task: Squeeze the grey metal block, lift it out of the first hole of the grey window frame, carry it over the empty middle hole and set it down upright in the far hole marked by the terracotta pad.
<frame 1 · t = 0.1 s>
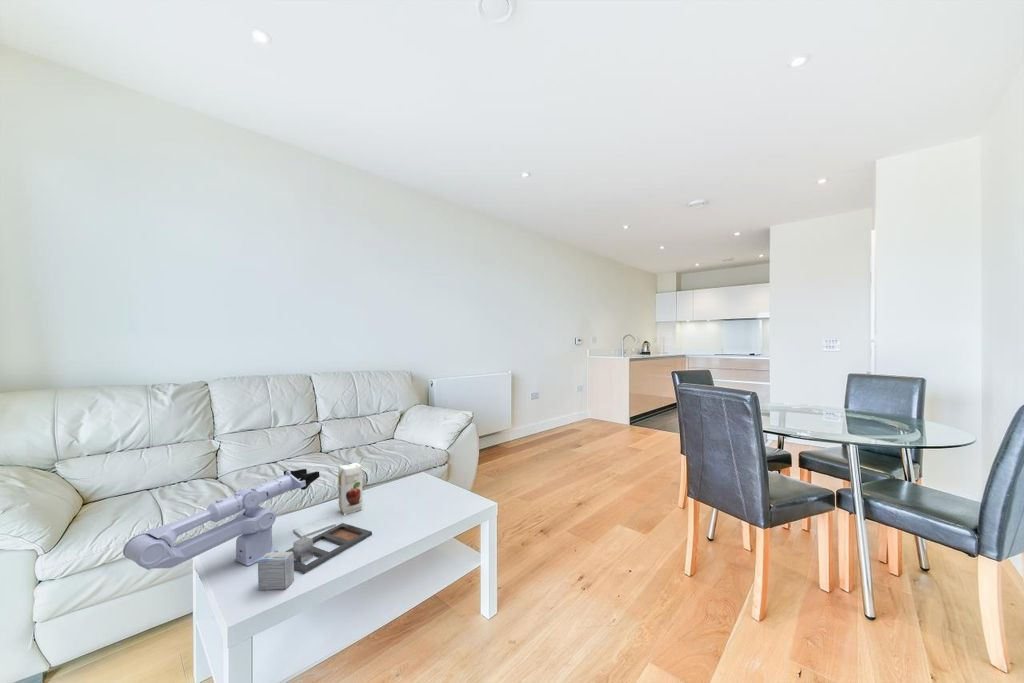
hand: (312, 472, 141), 22 cm above the table, tool horizontal, fingers open, 7 cm apart
hard drive: (314, 530, 142), on the table
grey metal block: (303, 559, 121), resting in grey window frame
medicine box: (276, 586, 108), on the table
grey window frame: (325, 547, 128), on the table
juice carton: (350, 510, 157), on the table
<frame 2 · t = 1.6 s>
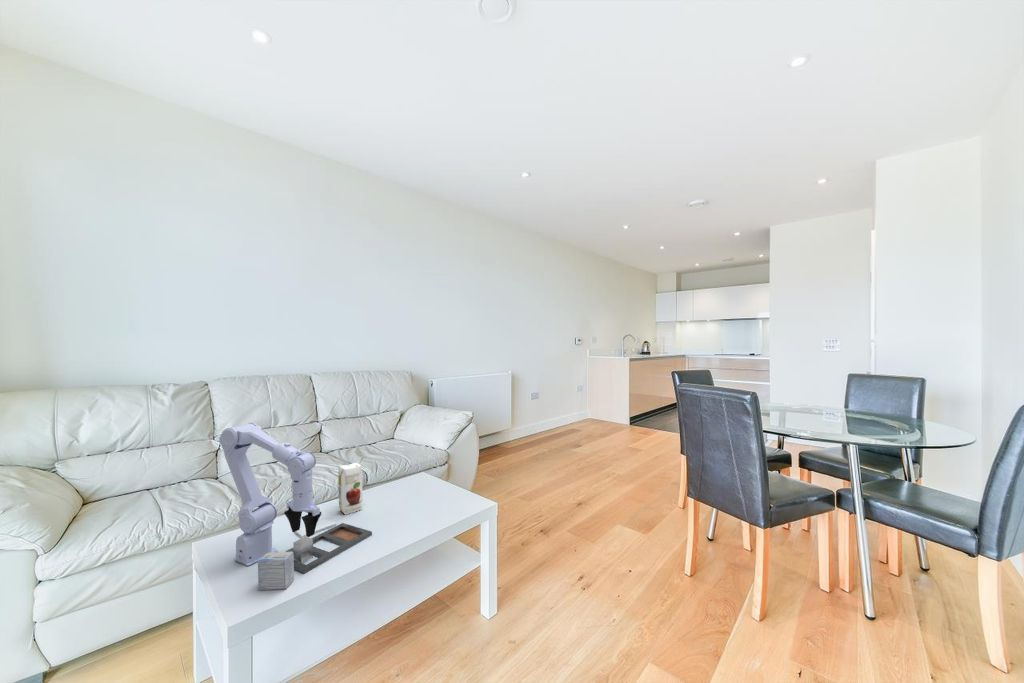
hand: (303, 533, 121), 8 cm above the table, tool pointing down, fingers open, 7 cm apart
nothing on the table moved.
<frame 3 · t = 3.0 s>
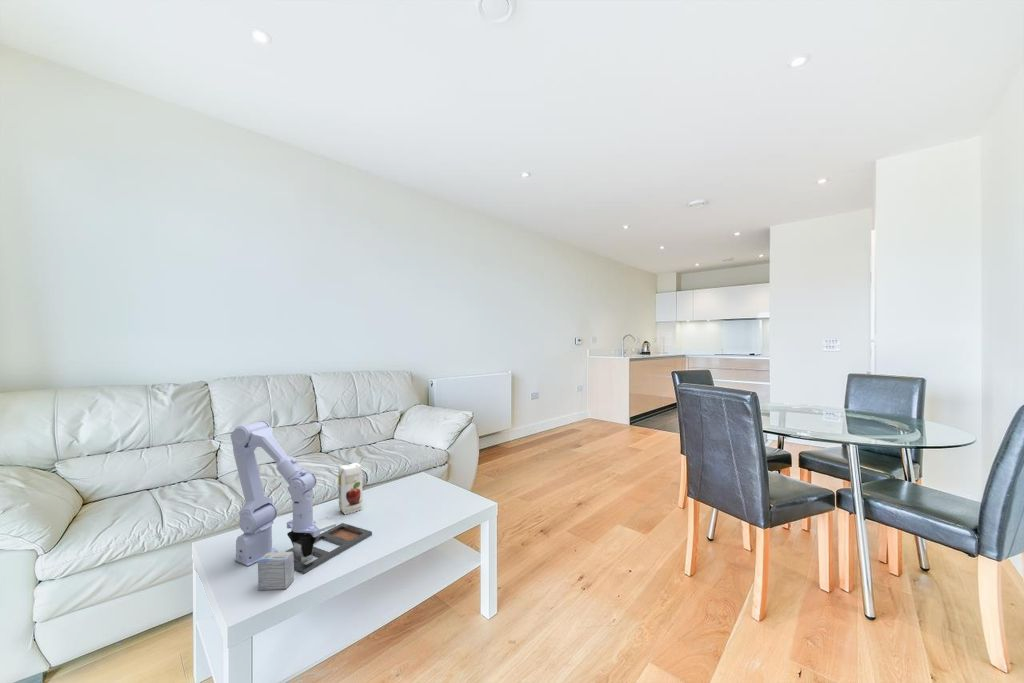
hand: (303, 553, 121), 2 cm above the table, tool pointing down, fingers closed on grey metal block, 4 cm apart
grey metal block: (303, 559, 121), resting in grey window frame, touching gripper
everything else where it was.
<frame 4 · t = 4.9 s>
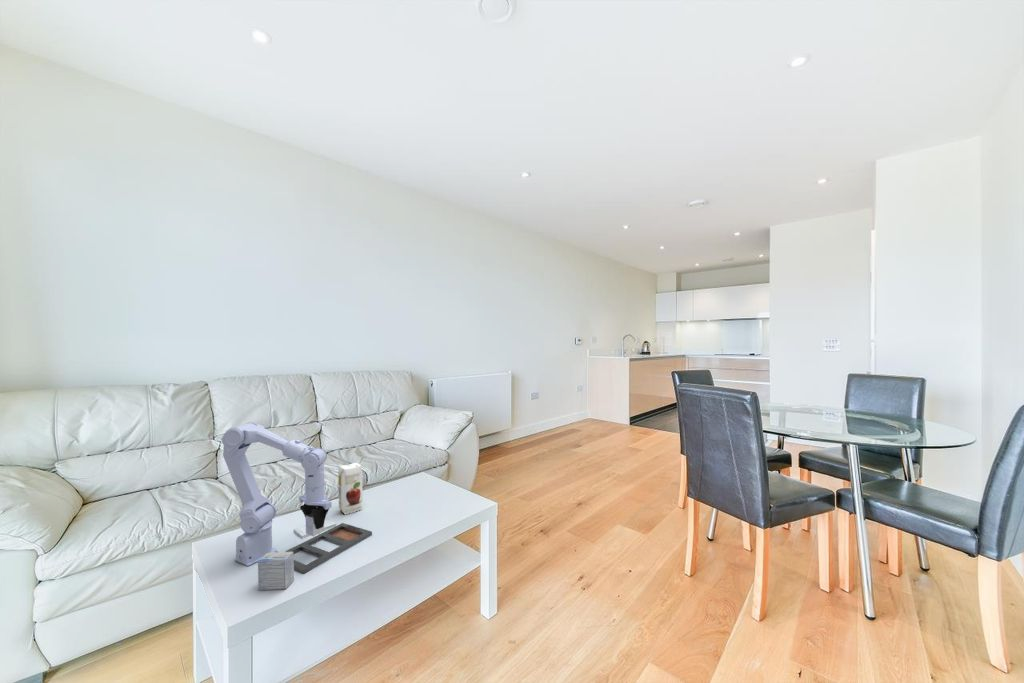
hand: (315, 526, 125), 9 cm above the table, tool pointing down, fingers closed on grey metal block, 4 cm apart
grey metal block: (315, 532, 125), point 7 cm above the table, touching gripper
everything else where it was.
when the fingers open (3 cm above the table, at t = 7.0 s): grey metal block drops 1 cm, resting on grey window frame.
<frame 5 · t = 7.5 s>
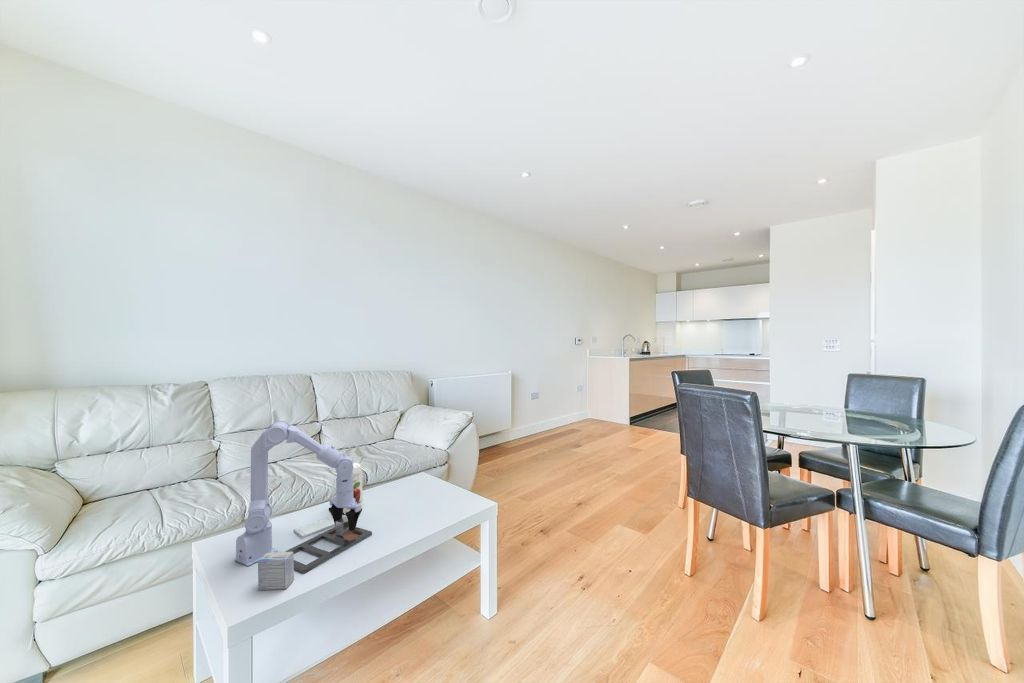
hand: (345, 527, 135), 3 cm above the table, tool pointing down, fingers open, 7 cm apart
grey metal block: (344, 536, 135), resting on grey window frame
everything else where it was.
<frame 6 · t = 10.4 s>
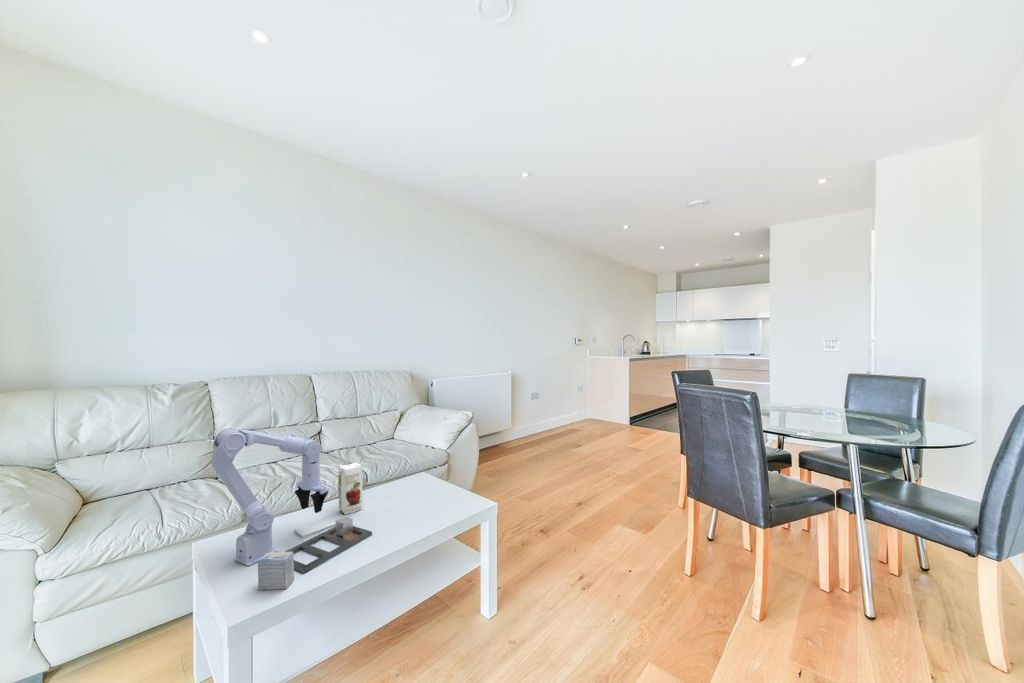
hand: (311, 510, 137), 9 cm above the table, tool pointing down, fingers open, 7 cm apart
nothing on the table moved.
at the end: grey metal block inside the target area on the grey window frame (0.5 cm from its centre), point 0.2 cm above the grey window frame's base; grey metal block tilted 0°; the gripper is holding nothing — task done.
